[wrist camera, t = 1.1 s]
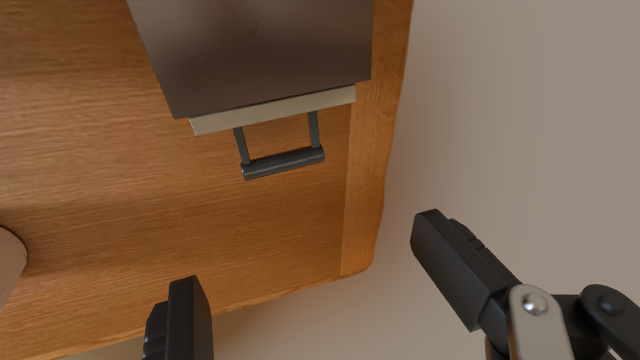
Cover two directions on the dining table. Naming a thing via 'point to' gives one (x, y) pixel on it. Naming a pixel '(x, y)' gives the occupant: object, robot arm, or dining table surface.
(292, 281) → the dining table surface
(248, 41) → the cabinet
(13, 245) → the teacup with lid
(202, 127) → the drawer
